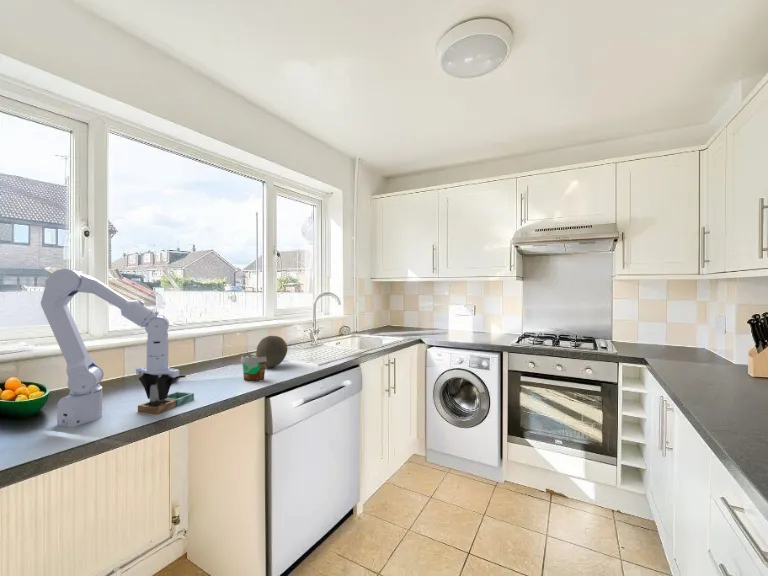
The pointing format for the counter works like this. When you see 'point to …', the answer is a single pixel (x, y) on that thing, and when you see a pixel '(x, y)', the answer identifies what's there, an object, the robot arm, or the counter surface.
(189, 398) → the board
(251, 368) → the food container
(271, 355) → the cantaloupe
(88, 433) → the counter surface
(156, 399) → the steel pin
